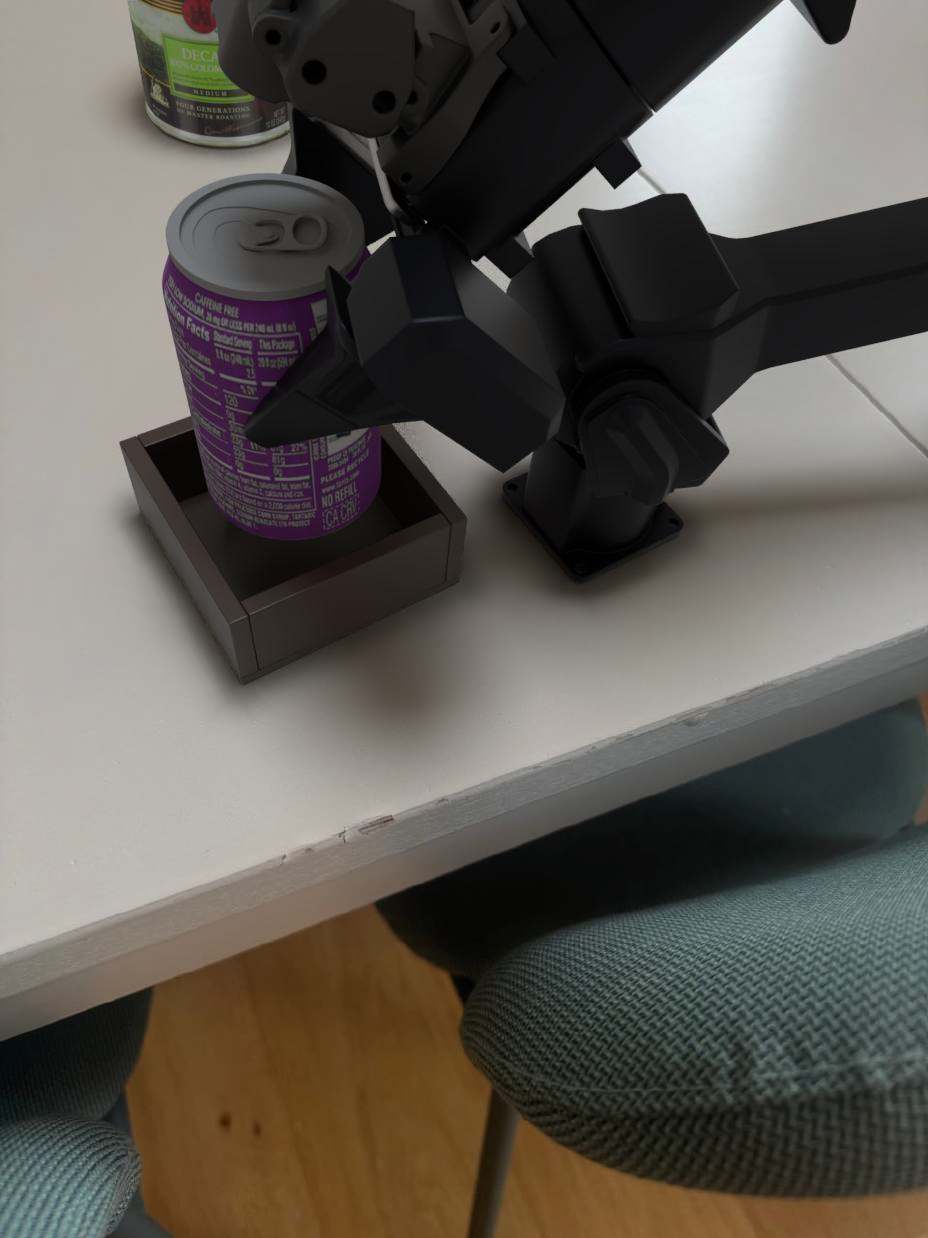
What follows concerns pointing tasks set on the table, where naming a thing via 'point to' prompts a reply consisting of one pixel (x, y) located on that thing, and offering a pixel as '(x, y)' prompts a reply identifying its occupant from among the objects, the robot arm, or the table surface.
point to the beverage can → (264, 345)
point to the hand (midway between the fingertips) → (244, 367)
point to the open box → (295, 552)
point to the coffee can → (196, 79)
